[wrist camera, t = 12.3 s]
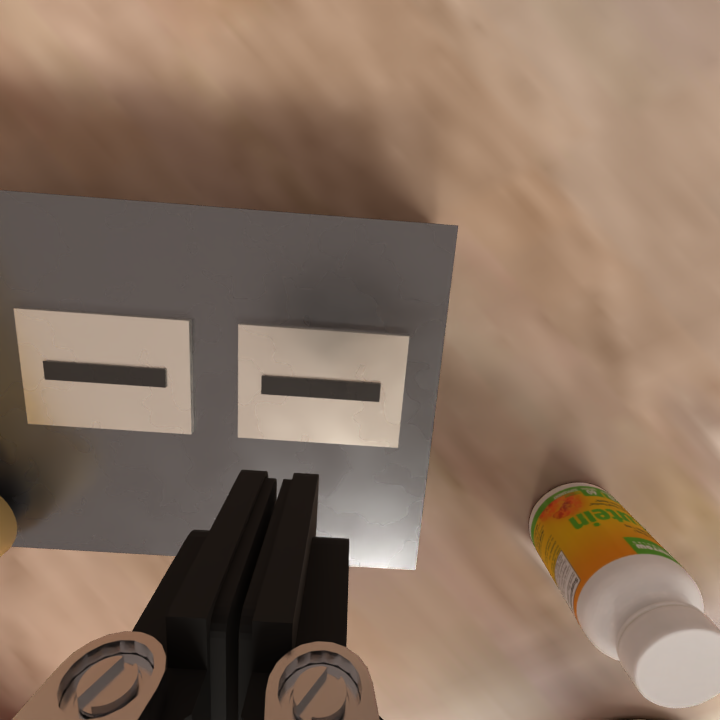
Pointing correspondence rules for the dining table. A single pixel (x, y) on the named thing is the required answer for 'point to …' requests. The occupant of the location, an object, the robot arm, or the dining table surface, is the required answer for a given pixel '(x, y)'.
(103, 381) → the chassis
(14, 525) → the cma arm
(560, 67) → the dining table surface
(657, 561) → the supplement bottle
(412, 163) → the dining table surface
